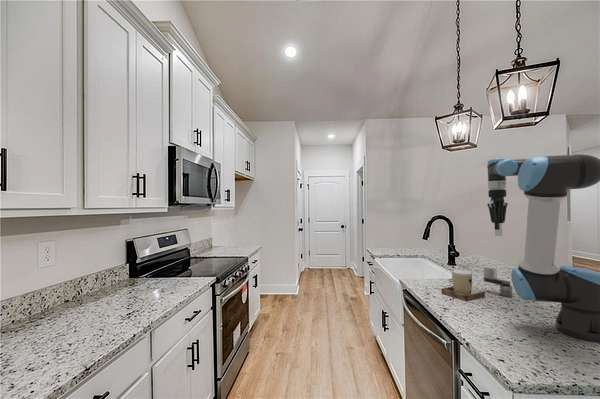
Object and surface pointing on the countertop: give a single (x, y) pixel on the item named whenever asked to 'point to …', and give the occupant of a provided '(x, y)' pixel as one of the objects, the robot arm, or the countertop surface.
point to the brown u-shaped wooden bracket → (450, 292)
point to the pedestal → (506, 291)
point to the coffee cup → (462, 281)
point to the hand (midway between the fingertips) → (498, 235)
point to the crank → (493, 277)
